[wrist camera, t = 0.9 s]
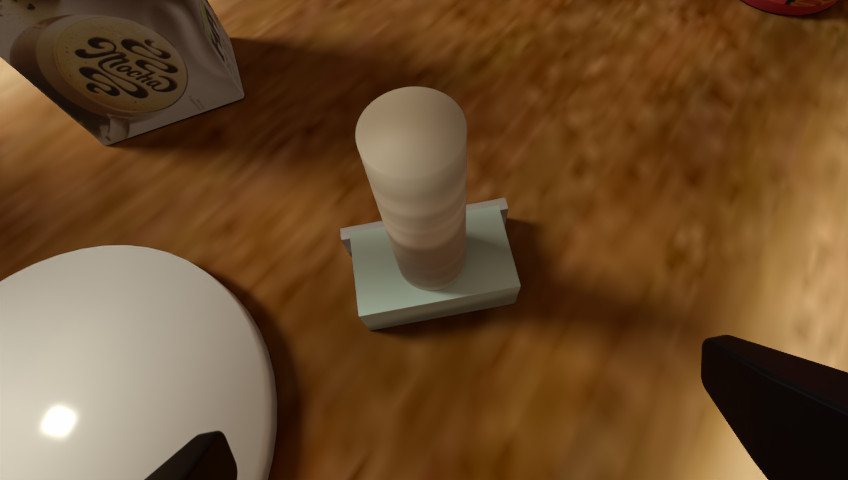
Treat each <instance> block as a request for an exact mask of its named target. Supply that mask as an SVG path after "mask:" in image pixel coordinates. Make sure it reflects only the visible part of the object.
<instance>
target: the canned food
mask: <svg viewBox="0 0 848 480" xmlns="http://www.w3.org/2000/svg"><path fill="white" fill-rule="evenodd" d="M742 1H743V2H745V3H747V4H749V5H751V6H753V7H755V8H758V9H760V10H764V11H767V12H771V13H776V14H783V15H805V14H812V13H816V12H819V11H822V10H824V9H827V8H829V7H831V6H832V5H833V4H835V3H836V2H837V1H839V0H742Z"/></svg>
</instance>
